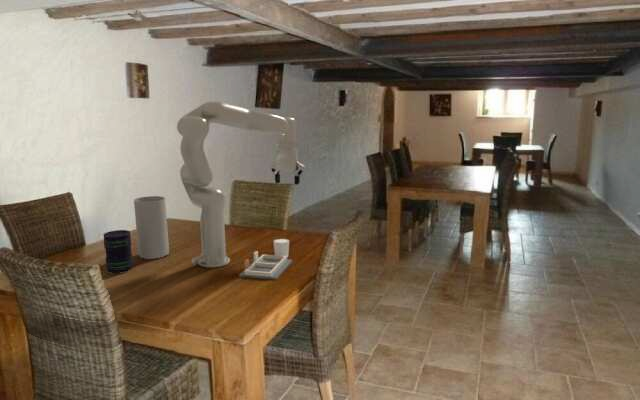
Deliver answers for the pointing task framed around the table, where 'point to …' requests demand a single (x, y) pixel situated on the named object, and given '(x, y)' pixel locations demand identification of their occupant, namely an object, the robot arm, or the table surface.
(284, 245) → the shot glass
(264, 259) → the well board
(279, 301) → the table surface
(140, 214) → the cylinder vase
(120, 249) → the storage jar
